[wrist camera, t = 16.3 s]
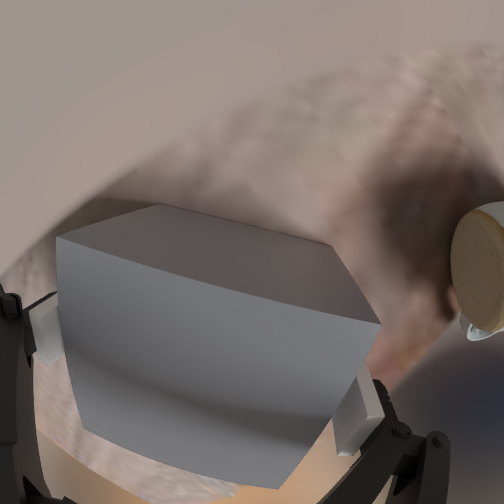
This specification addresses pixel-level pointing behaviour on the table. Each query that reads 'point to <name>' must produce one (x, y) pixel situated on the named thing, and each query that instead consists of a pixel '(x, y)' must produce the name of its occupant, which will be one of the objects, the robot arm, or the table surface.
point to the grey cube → (208, 340)
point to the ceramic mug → (480, 270)
